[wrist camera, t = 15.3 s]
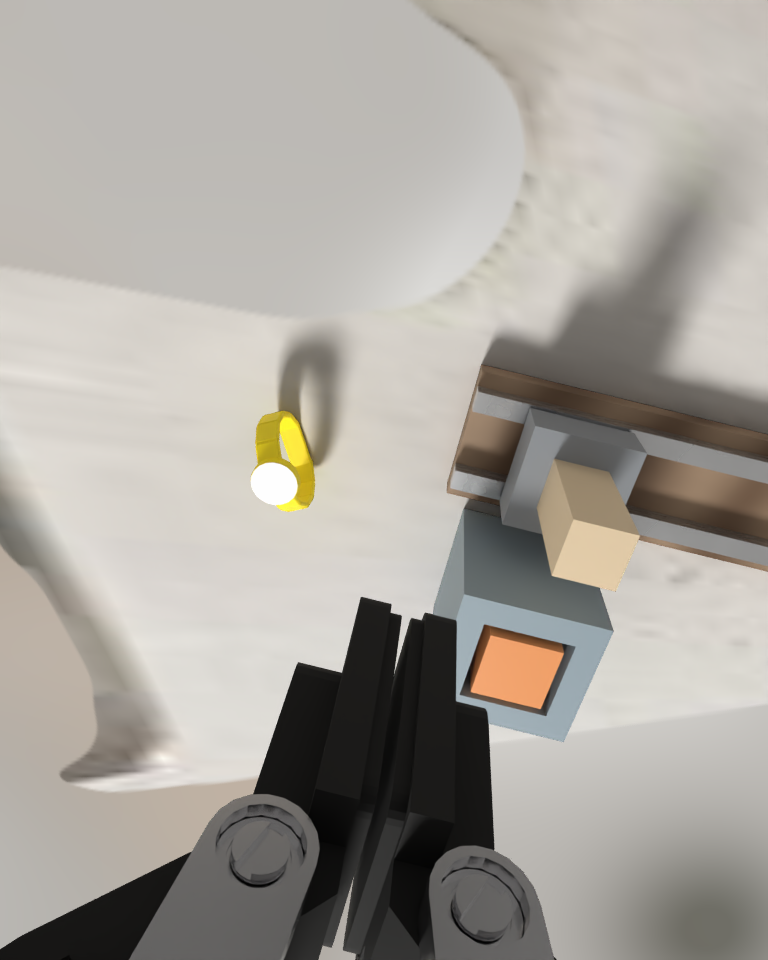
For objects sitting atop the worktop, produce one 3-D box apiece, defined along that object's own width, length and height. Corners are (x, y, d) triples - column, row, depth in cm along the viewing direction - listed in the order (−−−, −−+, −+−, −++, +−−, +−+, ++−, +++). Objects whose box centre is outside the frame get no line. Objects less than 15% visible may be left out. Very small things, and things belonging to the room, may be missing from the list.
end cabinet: (589, 539, 45) (621, 632, 36) (550, 635, 48) (570, 743, 39) (463, 508, 45) (463, 594, 36) (433, 607, 48) (426, 708, 39)
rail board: (858, 456, 41) (883, 474, 38) (795, 568, 44) (815, 591, 42) (481, 364, 41) (482, 376, 38) (447, 482, 44) (446, 501, 42)
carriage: (634, 433, 38) (687, 514, 29) (597, 524, 41) (635, 625, 32) (530, 408, 38) (550, 480, 29) (499, 500, 41) (510, 594, 32)
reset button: (557, 619, 39) (563, 653, 36) (535, 673, 41) (540, 709, 38) (488, 602, 39) (490, 635, 36) (470, 657, 41) (470, 692, 38)
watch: (330, 478, 45) (314, 526, 40) (291, 486, 46) (270, 534, 41) (300, 395, 43) (279, 434, 37) (259, 405, 43) (233, 445, 38)
